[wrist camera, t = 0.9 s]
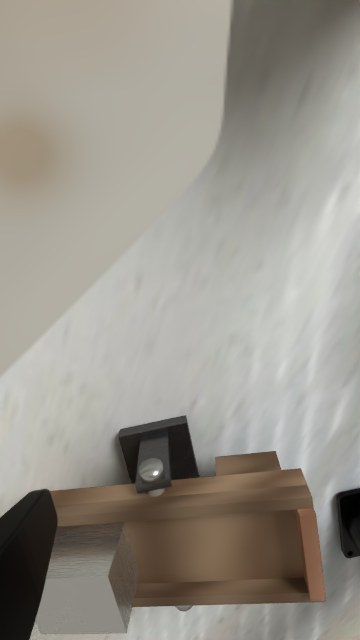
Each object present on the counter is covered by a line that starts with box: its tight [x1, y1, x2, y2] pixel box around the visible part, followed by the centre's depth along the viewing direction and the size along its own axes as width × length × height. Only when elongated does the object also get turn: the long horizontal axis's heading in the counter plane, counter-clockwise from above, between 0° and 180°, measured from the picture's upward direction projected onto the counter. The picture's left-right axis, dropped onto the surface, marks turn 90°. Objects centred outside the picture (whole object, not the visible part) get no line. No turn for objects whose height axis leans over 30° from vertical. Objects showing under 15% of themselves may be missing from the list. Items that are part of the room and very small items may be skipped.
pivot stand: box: [119, 415, 200, 611], centre depth 21 cm, size 5×10×6 cm, turn 11°
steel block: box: [35, 522, 140, 634], centre depth 17 cm, size 5×4×3 cm
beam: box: [50, 451, 326, 607], centre depth 19 cm, size 17×8×5 cm, turn 101°
